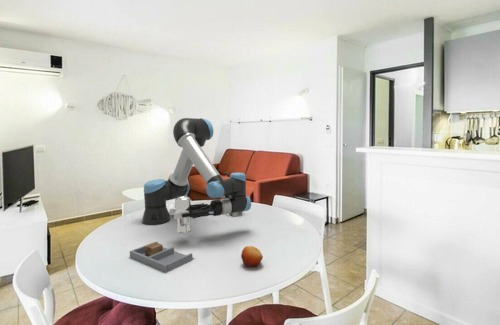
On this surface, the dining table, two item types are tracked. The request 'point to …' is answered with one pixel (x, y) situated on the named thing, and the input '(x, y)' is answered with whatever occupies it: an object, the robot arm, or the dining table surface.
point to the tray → (161, 258)
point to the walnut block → (153, 249)
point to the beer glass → (182, 206)
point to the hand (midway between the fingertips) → (171, 214)
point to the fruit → (251, 256)
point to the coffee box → (235, 213)
